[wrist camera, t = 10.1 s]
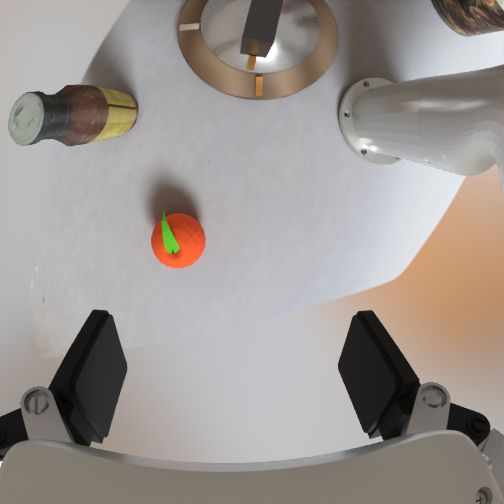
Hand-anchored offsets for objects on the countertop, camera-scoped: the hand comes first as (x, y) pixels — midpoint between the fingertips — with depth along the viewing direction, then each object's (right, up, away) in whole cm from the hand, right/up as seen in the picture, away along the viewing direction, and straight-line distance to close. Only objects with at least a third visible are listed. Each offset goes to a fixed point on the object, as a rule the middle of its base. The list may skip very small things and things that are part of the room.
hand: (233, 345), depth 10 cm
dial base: (+2, +32, +17) cm, 36 cm away
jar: (+37, +47, +13) cm, 61 cm away
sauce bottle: (-17, +21, +21) cm, 34 cm away
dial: (+2, +31, +15) cm, 34 cm away
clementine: (-9, +7, +28) cm, 30 cm away
